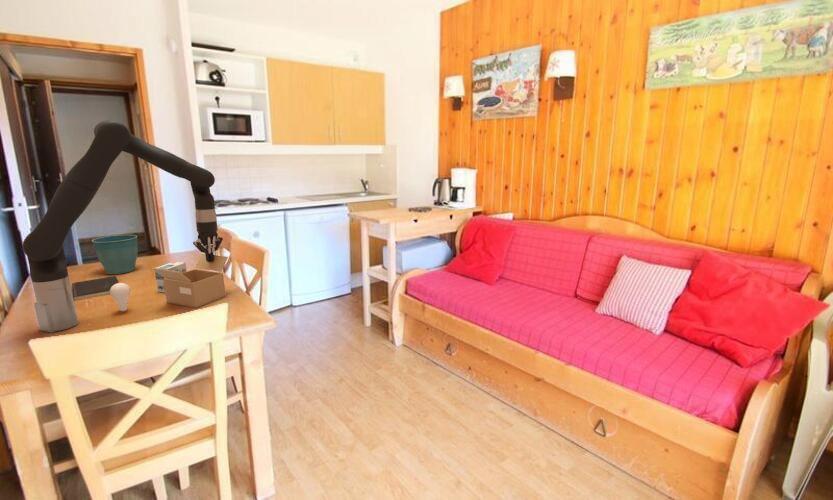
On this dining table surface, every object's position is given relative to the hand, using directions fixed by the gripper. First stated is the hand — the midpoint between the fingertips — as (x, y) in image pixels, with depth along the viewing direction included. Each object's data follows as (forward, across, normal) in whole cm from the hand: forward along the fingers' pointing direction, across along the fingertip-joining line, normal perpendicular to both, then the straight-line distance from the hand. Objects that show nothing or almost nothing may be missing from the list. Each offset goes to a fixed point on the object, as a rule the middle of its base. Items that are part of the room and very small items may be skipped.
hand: (210, 261), depth 168 cm
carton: (+14, -8, 0) cm, 16 cm away
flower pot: (+14, +7, +70) cm, 72 cm away
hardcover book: (+15, -15, +52) cm, 56 cm away
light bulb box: (+14, -2, +21) cm, 25 cm away
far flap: (0, 0, 0) cm, 0 cm away
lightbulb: (+15, -27, +15) cm, 34 cm away
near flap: (+1, -17, 0) cm, 17 cm away
